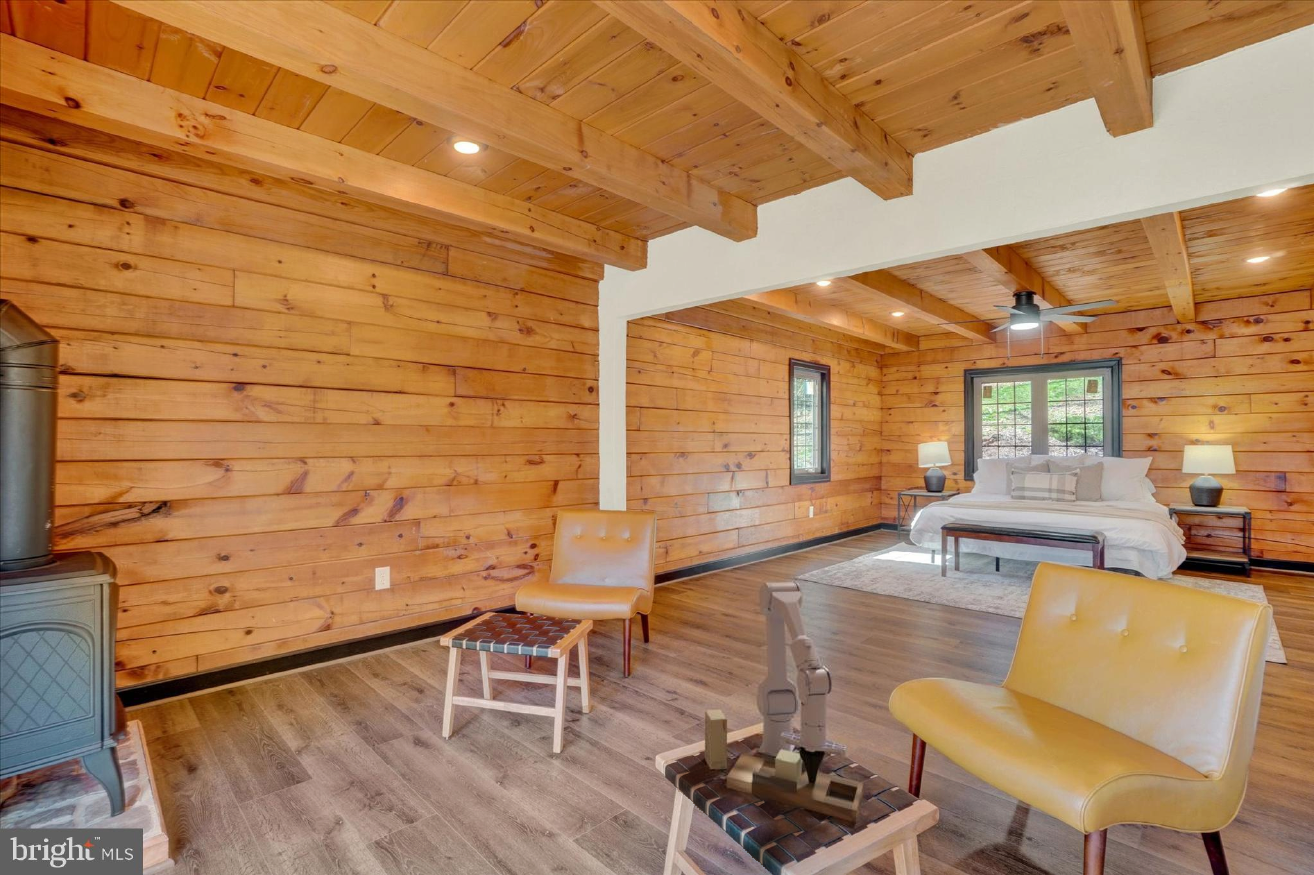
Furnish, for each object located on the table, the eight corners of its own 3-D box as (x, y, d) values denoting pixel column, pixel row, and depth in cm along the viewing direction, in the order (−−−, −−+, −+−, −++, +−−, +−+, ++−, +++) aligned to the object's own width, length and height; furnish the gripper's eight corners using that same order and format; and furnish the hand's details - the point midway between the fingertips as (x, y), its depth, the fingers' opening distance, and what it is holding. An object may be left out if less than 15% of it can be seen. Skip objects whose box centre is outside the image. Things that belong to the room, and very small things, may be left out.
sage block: (780, 770, 145) (780, 749, 145) (801, 775, 143) (801, 754, 143) (774, 780, 141) (775, 758, 141) (796, 786, 139) (797, 764, 139)
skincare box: (727, 769, 150) (728, 719, 150) (710, 770, 149) (711, 720, 149) (720, 756, 156) (721, 708, 156) (704, 757, 156) (704, 709, 156)
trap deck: (742, 763, 153) (742, 745, 153) (863, 793, 140) (863, 774, 141) (726, 787, 142) (726, 767, 142) (856, 822, 130) (856, 801, 130)
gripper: (777, 721, 139) (776, 781, 139) (843, 735, 133) (842, 798, 133) (785, 709, 146) (784, 767, 145) (848, 722, 139) (847, 782, 139)
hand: (812, 781), depth 140 cm, fingers closed
